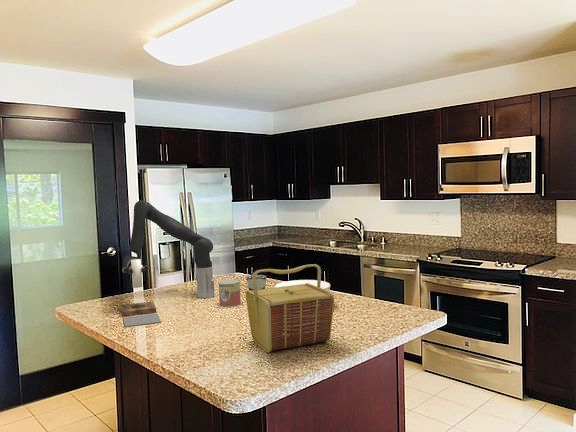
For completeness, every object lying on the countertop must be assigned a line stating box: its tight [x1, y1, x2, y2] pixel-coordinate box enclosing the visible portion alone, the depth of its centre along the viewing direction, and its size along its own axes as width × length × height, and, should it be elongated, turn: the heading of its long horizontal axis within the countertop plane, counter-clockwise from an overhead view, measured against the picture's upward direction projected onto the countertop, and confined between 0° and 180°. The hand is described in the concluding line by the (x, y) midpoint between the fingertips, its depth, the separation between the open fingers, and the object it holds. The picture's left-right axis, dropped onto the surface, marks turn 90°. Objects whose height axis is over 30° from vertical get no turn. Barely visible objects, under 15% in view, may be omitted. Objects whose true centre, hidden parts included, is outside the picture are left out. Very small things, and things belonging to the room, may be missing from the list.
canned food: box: [218, 279, 242, 308], centre depth 252 cm, size 11×11×12 cm
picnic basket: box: [245, 263, 335, 353], centre depth 186 cm, size 29×26×30 cm
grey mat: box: [123, 313, 162, 328], centre depth 225 cm, size 16×16×1 cm
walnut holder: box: [120, 300, 157, 318], centre depth 244 cm, size 16×16×2 cm
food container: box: [245, 274, 268, 291], centre depth 279 cm, size 12×6×10 cm, turn 84°
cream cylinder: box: [131, 259, 144, 289], centre depth 243 cm, size 5×5×14 cm
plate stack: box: [274, 279, 331, 292], centre depth 241 cm, size 28×28×12 cm
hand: (137, 271), depth 240 cm, fingers closed on cream cylinder, 4 cm apart
